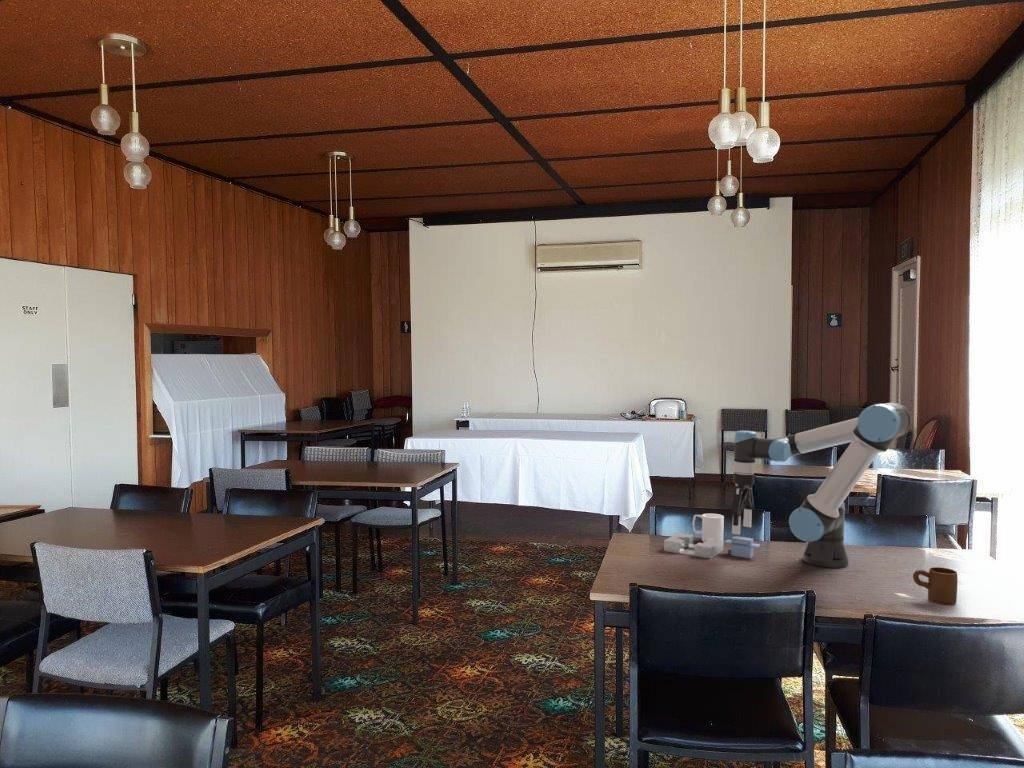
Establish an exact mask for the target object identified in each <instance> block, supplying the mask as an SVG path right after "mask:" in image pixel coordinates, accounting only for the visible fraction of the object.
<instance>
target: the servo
mask: <svg viewBox="0 0 1024 768" xmlns="http://www.w3.org/2000/svg"><path fill="white" fill-rule="evenodd" d="M754 540H755V539H754V537H753V538H751V537H745V536H739V535H734V536H732V537H731V539H726V540H724V544H728V545H731V546H730V547H731V548H728V549H727V553H728V554H731V556H734V557H739V558H744V559H751V558H753V557H754V549H758V548H760V547H761V544H760V543H755V542H754Z"/></svg>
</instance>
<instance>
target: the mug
mask: <svg viewBox="0 0 1024 768" xmlns="http://www.w3.org/2000/svg"><path fill="white" fill-rule="evenodd" d="M920 575H921V576H923V577H926V578H928V580H927V581H926V580H922V579H920V577H919V576H920ZM912 578H913V582H914V583H915V584H916V585H918V586H920V587H923V588H926V590H927V599H928V600H929V601H930V602H932V603H934V604H939V605H943V606H944V605H945V606H949V605H950V606H952V605H953V606H954V605H955V604H956V603H957V599H958V581H959V580H958V579H959V577H958V572H957V571H956V570H954V569H951V568H946V567H940V566H939V567H938V566H937V567H935V566H934V567H930V568H929V569H928V571H926V570H924V569H916V570H915V571H914V572H913V574H912Z"/></svg>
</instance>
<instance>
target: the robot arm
mask: <svg viewBox="0 0 1024 768" xmlns="http://www.w3.org/2000/svg"><path fill="white" fill-rule="evenodd" d="M911 425H912V416H911V413H910V411H909V410H908V409H907V408H906V407H905V406H904V405H903V404H900V403H897V402H886V403H885V402H884V403H874V404H871V405H870V406H867V407H866V408H864V409H863V410H862V411H861V413H860V414H859V416H858V417H855V418H851V419H847V420H843V421H839V422H836V423H831V424H828V425H823V426H820V427H817V428H816V427H815V428H813V429H809V430H805V431H802V432H797V433H793V434H789V435H786V436H785V435H784V436H781V437H775V438H762V437H757V432H756V431H752V430H738V431H736V432H735V434H734V442H733V444H734V446H733V448H734V451H733V455H734V456H733V457H734V458H733V462H732V466H733V474H732V475H733V476H732V483H733V484H736V485H737V488H736V487H735V488H734V490H733V491H734V492H733V497H732V498H733V500H732V504H731V509H730V513H729V515H730V516H731V517H732V522H731V524H732V525H731V534H732V535H737V536H739V535H741V512H742V508H743V505H744V508H743V522H742V523H743V525H742V526H743V527H745V528H752V517H753V516H752V514H753V513H752V512H753V511H754V510H755V501H754V495H753V485H754V484H755V477H756V476H755V473H756V460H757V459H758V460H767V461H772V462H781V463H784V462H786V461H788V459H789V458H791V457H795V456H798V455H802V454H806V453H809V452H815V451H818V450H823V449H826V448H831V447H835V446H839V445H844V444H848V443H849V445H848V446H847V448H846V449H845V450H844V452H843V453H842V455H841V456H840V457H839V459H838V460H837V462H836V463H835V464H834V466H833V467H832V468H831V471H829V473H828V474H827V476H826V477H825V479H824V480H823V481H822V483H821V485H820V486H819V487H818V489H817V491H816V492H815V493H813V494H812V493H811V494H808V495H807V496H806V497H805V499H804V501H803V502H802V504H801V505H800V506H799V507H798V508H796V509H794V510H793V511H792V512H791V514H790V515H789V518H788V525H789V529H790V531H791V533H792V534H793V535H794V536H795V538H797V539H798V540H800V541H803V542H806V544H805V547H804V549H803V552H802V560H803V561H804V563H806V564H810V565H813V566H816V567H820V568H822V567H823V568H832V569H833V568H835V569H837V568H845V567H848V566H849V563H850V562H849V561H850V560H849V555H848V552H847V548H846V545H845V542H844V541H845V515H846V514H845V513H846V508H845V502H844V501H845V500H846V499H847V497H848V496H849V494H850V493H851V492H852V490H853V488H855V486H856V485H857V483H858V482H859V481H860V479H861V478H862V476H863V475H864V473H865V472H866V471H867V470H868V468H869V467H870V466H871V464H872V462H873V461H874V460H875V458H876V457H877V455H878V454H880V453H886V452H887V451H888V449H889V448H890V447H891V445H892V443H893V442H894V441H895V440H896V438H899V437H902V436H904V435H905V434H906V433H907V432H908V431H909V429H910V428H911Z"/></svg>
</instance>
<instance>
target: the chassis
mask: <svg viewBox="0 0 1024 768" xmlns="http://www.w3.org/2000/svg"><path fill="white" fill-rule="evenodd" d="M724 544H725V539H723V540H721V539H715V538H708V537H707V538H706V539H704V541H702V542H698V543H696V544H695V543H694V534H687V533H680V532H677V533H675V534H673V535H672V536H670V537H668V538H666V539H664V541H663V552H669V553H675V554H680V555H687V556H693V557H698V558H699V557H700V558H703V559H704V558H705V559H710V560H711V559H713V558H715V556H717V555H718V554H720V553H722V552H723V551H724V546H725V545H724ZM685 548H687V549H685ZM689 549H693V550H689Z"/></svg>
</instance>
